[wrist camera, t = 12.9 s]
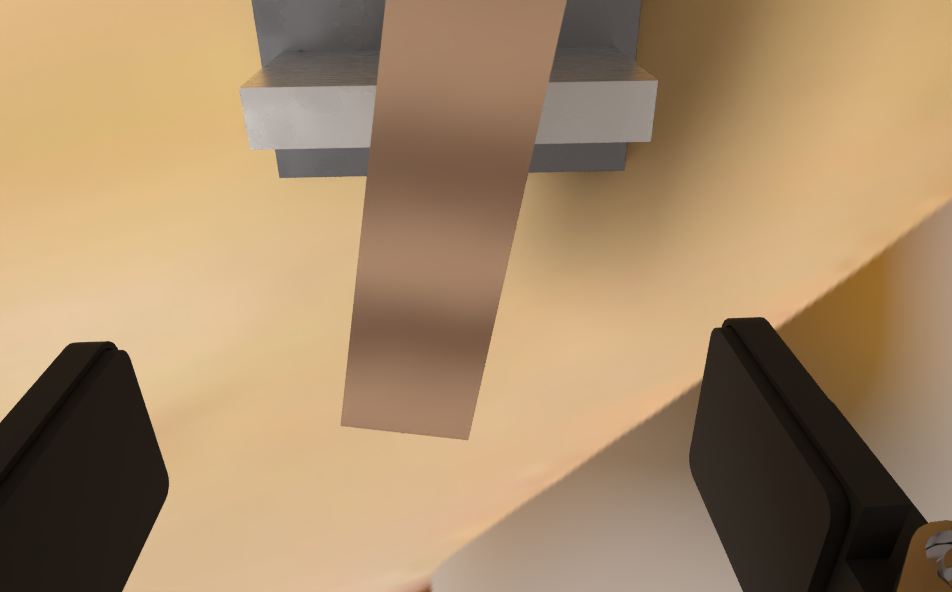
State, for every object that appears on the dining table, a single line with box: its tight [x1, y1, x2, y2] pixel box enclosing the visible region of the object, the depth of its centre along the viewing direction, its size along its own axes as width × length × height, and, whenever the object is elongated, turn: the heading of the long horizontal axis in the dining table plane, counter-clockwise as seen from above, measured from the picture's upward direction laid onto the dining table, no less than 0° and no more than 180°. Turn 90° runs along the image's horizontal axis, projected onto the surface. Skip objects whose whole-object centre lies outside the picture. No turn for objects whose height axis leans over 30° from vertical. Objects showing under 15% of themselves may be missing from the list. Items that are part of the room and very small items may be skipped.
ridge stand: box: [239, 0, 658, 178], centre depth 30 cm, size 10×18×8 cm, turn 91°
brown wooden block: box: [341, 0, 567, 440], centre depth 24 cm, size 22×5×6 cm, turn 170°
